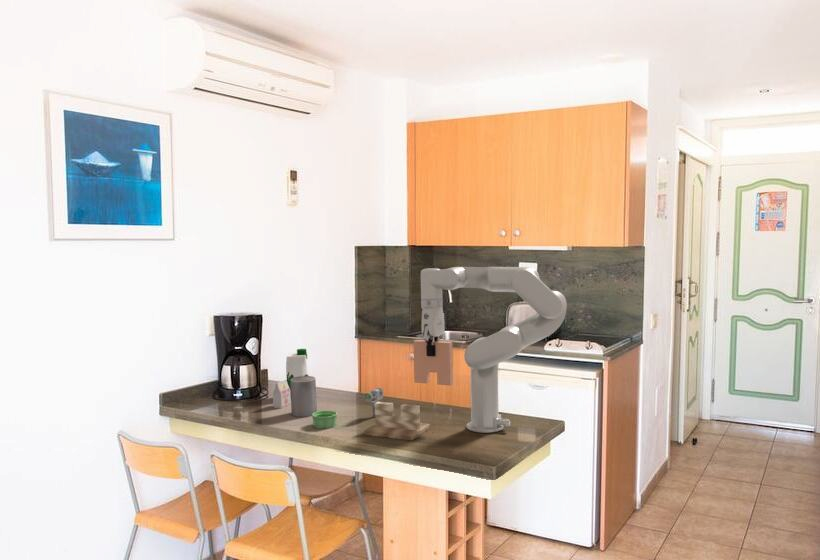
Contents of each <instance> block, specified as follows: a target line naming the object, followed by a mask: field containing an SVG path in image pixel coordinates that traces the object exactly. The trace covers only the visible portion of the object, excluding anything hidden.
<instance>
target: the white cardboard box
mask: <svg viewBox="0 0 820 560" xmlns="http://www.w3.org/2000/svg"><path fill="white" fill-rule="evenodd" d="M272 401H273V402H272V406H273V407H274V409H283V407H284V408H286V407H289V406H290V404H291V395H290V388H289V386H288V383H287V379H284V380H282V381H279V382H276V383H275V386H274V389H273V392H272Z"/></svg>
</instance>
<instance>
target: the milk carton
mask: <svg viewBox="0 0 820 560" xmlns="http://www.w3.org/2000/svg"><path fill="white" fill-rule="evenodd" d="M308 361H309V360H308V353H307V349H306V348H297V349H296V352H294V353H288V354H287V355H286V363H285V364H286V365H285V368H286V369H285V370H286V371H285V372H286V373H285V374H286V376H285V377H286V380H287V383H288V386H289V388H290V395H291V387H290V379H291V378H294V377H299V376H309V365H308V364H309V362H308Z"/></svg>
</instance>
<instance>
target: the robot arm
mask: <svg viewBox="0 0 820 560" xmlns="http://www.w3.org/2000/svg"><path fill="white" fill-rule="evenodd" d="M460 288H461V289H462V288H463V289H465V288H466V289H467V288H468V289H469V288H472V289H473V288H474V289H475V288H476V289H482V290H486V291H488V292H493V293H498V292H499V293H516V294H517V295H518V296H519V297H520V298H521V299H522V300H523V301H524V302H525V303H526V304H527V305H528V306H529V307H530V308H532V309H533V310H534V311H535V312H536V313H535V314H533V315H531V316H529V317H527V318H525V319H523V320H521V321H518V322H516V323H514V324H511V325H508V326H505V327H503V328H501V329H500V330H499V331H496V332H495V333H493V334H491V335H488V336H481V337H479V338H477V339H475V340H474V341H473V342H472V343H471V342H470V344H469V345H468V346H467V347H466V349H465V351H464V356H463V357H464V361H465V364H466V365H467V366H468V367H469V368H470V419H471V420H470V422H468V423H466V428H467V430H469V431H472V432H475V433H482V434H484V433H485V434H487V433H488V434H489V433H496V432H499V431H502V430H503V429H504V427H510V426H511V420H510V419H509V418H503V417H502V414H501V413H500V414H499V364H500V363H502V362H503V363H504V362H506V361H507V360H510V359H512V358H514V357H515V356H517V355H518V354H520V352H521V351H523V349H525V348H527V347H529V346H531V345H533V344H535V343H537V342H539V341H542V340H543V339H546V338H547V337H549V336H551V335H552V334H554V333H555V332H556V331H557V330H558V329H559V328H560V327H561V325H562V324H563V322H564V320H565V318H566V314H567V307H568V306H567V303H568V302H567V299H566V297H565V295H564V294H563V293H561V292H560V291H558V290H551V288H549V287H548V286H547V285H546V284H545V283H544V282H543V281H542V280H541V278H540V273H538V271H537V270H536V269H535V268H532V267H527V266H485V267H484V266H482V267H481V266H454V267H453V266H452V267H449V268H442V269H441V268H437V267H434V268H431V267H430V268H429V267H427V268H423V269H422V270H421V271H420V299H421V300H420V303H421V306H420V307H421V309H422V311H421V335H422V336H423V338H422V340H425V341H426V351H427V356H433V357H434V356H435V345H434V341H441V340H440V338H441V336H442V335H443V334H444V333H445V316H444V309H443V307H444V306H443V305H444V304H443V290H446V291H447V290H448V291H454V290H457V289H460Z"/></svg>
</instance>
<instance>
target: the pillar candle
mask: <svg viewBox="0 0 820 560" xmlns="http://www.w3.org/2000/svg"><path fill="white" fill-rule="evenodd" d="M290 387H291V406H290V407H291V416H292V417H296V416H297V418H305V417H312V414H313V413H315V412H318V406H317V385H316V377H315V376H313V375H308V376H299V377H294V378H291V379H290Z"/></svg>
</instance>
